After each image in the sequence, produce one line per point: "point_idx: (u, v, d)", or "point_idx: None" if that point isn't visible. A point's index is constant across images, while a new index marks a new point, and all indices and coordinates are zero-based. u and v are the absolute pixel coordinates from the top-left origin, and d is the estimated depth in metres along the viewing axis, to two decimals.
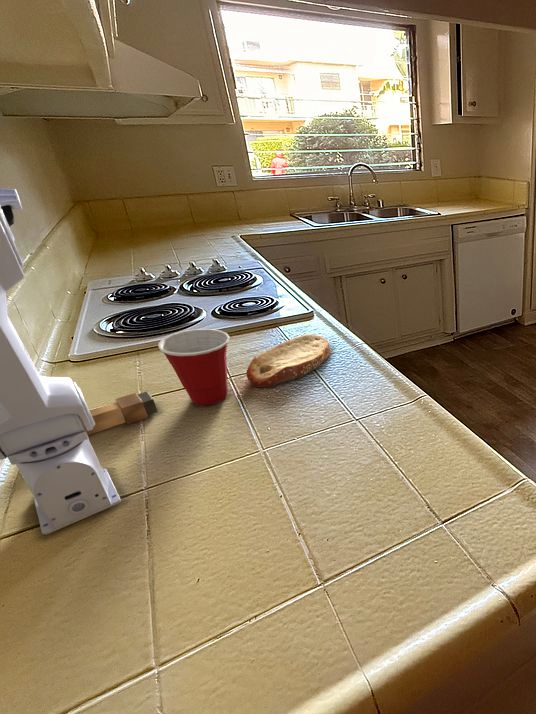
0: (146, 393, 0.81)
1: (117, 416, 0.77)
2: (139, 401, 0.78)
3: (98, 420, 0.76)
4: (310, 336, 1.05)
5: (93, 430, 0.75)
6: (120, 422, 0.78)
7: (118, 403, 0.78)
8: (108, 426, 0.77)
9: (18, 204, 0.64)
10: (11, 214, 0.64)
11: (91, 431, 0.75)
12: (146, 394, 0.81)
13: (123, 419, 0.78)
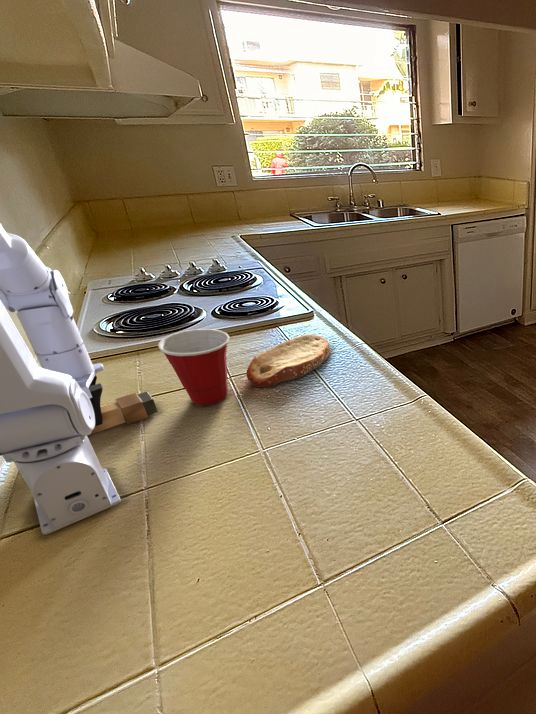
0: (146, 393, 0.81)
1: (117, 416, 0.77)
2: (139, 401, 0.78)
3: None
4: (310, 336, 1.05)
5: (93, 430, 0.75)
6: (120, 422, 0.78)
7: (118, 403, 0.78)
8: (108, 426, 0.77)
9: None
10: None
11: None
12: (146, 394, 0.81)
13: (123, 419, 0.78)
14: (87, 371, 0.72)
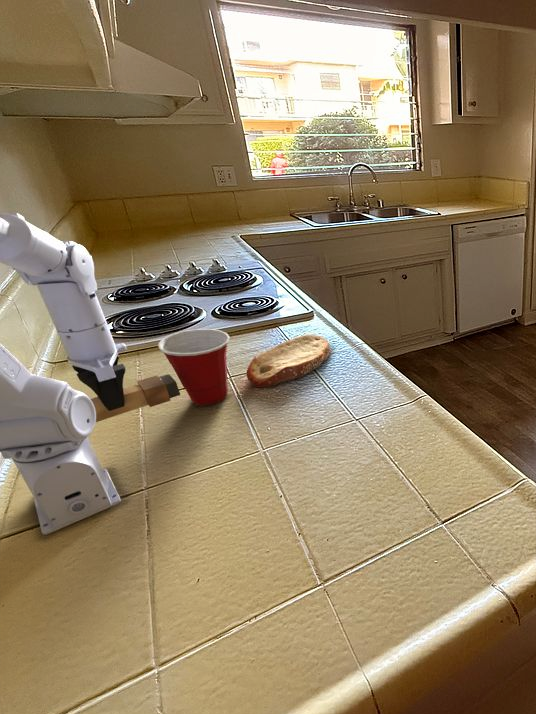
0: (168, 376, 0.79)
1: (139, 399, 0.75)
2: (162, 383, 0.76)
3: None
4: (310, 336, 1.05)
5: (115, 412, 0.73)
6: (142, 405, 0.75)
7: (140, 385, 0.75)
8: (130, 408, 0.74)
9: (96, 374, 0.65)
10: (89, 375, 0.67)
11: (113, 413, 0.73)
12: (168, 377, 0.78)
13: (145, 402, 0.75)
14: (110, 350, 0.69)
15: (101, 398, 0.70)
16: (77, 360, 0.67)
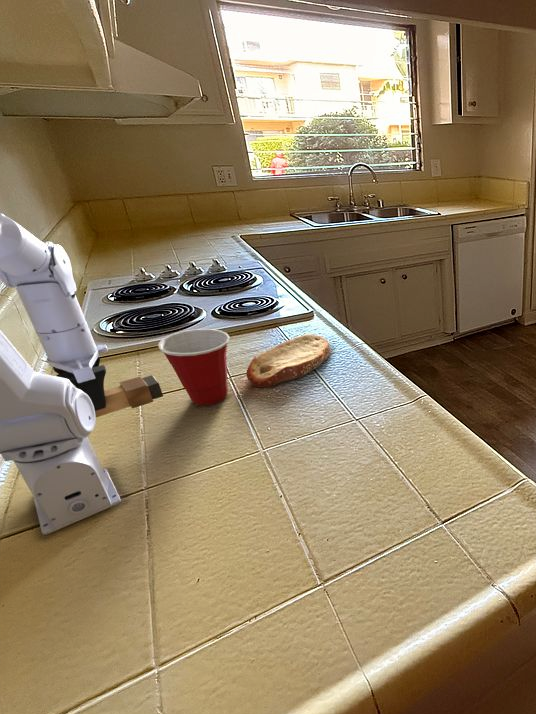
0: (151, 377, 0.79)
1: (121, 400, 0.74)
2: (144, 384, 0.76)
3: None
4: (310, 336, 1.05)
5: (96, 414, 0.73)
6: (124, 406, 0.75)
7: (122, 386, 0.75)
8: (112, 410, 0.74)
9: (74, 375, 0.64)
10: (68, 377, 0.67)
11: None
12: (151, 378, 0.78)
13: (127, 403, 0.75)
14: (90, 352, 0.69)
15: None
16: (57, 362, 0.66)
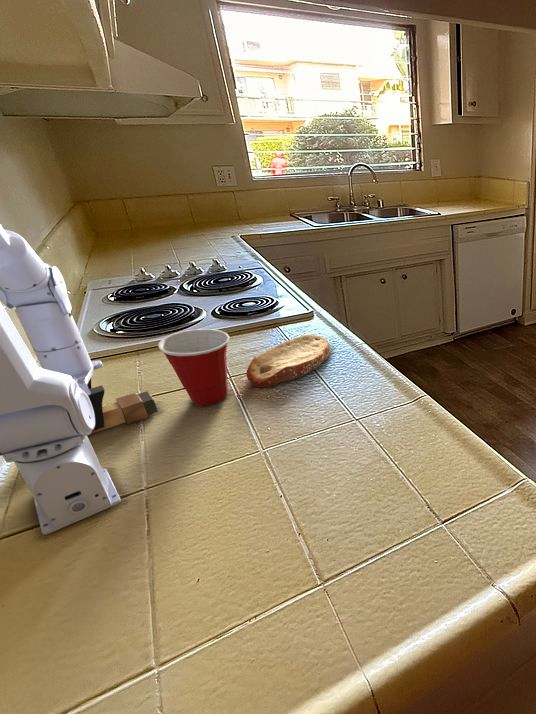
0: (146, 393, 0.81)
1: (117, 416, 0.77)
2: (139, 401, 0.78)
3: None
4: (310, 336, 1.05)
5: None
6: (120, 422, 0.78)
7: (118, 403, 0.78)
8: (108, 425, 0.77)
9: None
10: None
11: None
12: (146, 394, 0.81)
13: (123, 419, 0.78)
14: (86, 368, 0.71)
15: None
16: None
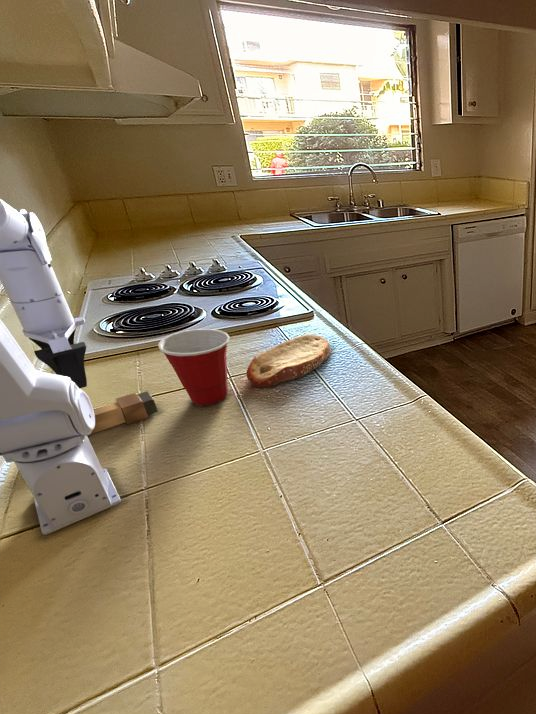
0: (146, 393, 0.81)
1: (117, 416, 0.77)
2: (139, 401, 0.78)
3: (98, 420, 0.76)
4: (310, 336, 1.05)
5: (93, 430, 0.75)
6: (120, 422, 0.78)
7: (118, 403, 0.78)
8: (108, 425, 0.77)
9: (49, 345, 0.64)
10: (46, 353, 0.65)
11: None
12: (146, 394, 0.81)
13: (123, 419, 0.78)
14: (67, 323, 0.68)
15: None
16: (32, 332, 0.66)
